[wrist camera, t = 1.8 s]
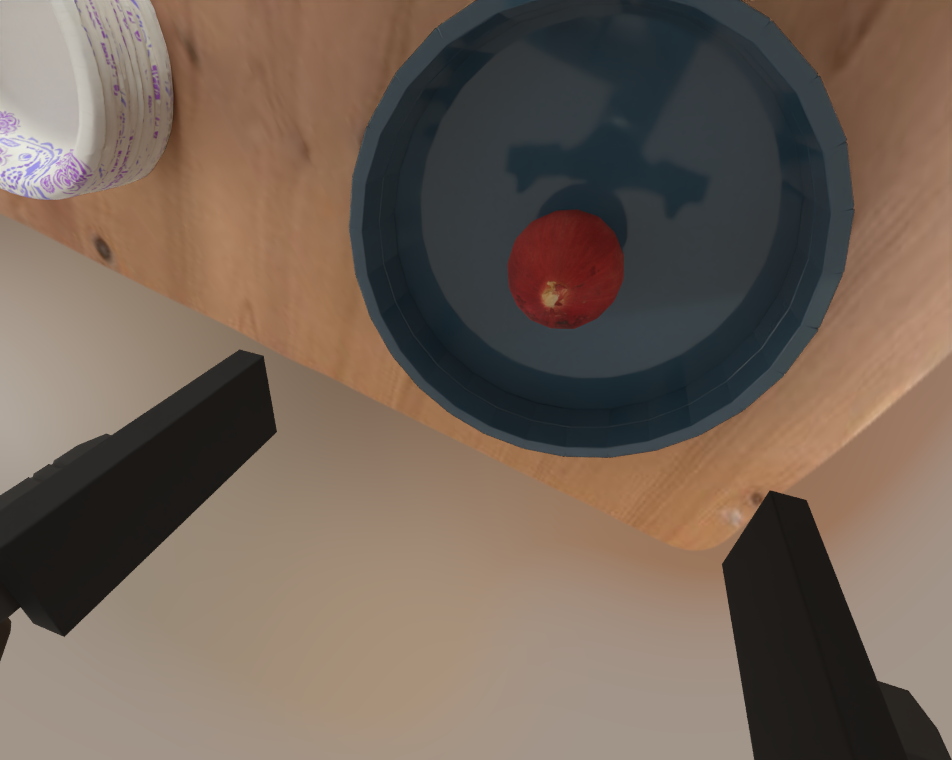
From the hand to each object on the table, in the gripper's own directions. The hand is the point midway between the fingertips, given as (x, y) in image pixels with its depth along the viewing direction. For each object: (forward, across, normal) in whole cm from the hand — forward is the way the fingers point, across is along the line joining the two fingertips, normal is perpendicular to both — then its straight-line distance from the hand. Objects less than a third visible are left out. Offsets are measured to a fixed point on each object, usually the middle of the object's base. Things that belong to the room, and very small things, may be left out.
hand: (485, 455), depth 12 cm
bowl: (+18, 0, 0) cm, 19 cm away
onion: (+18, 0, 0) cm, 18 cm away
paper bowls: (+19, -30, +7) cm, 36 cm away
